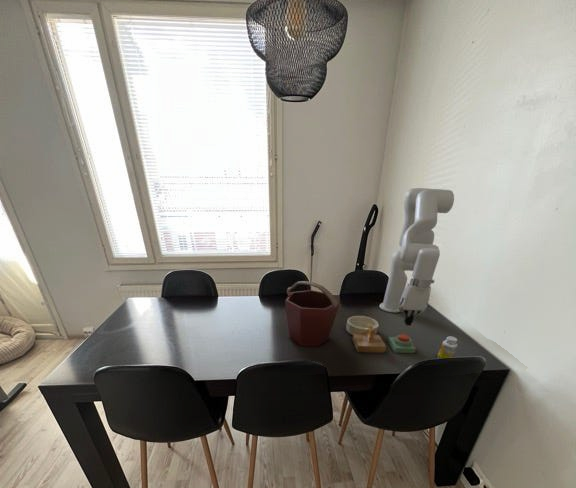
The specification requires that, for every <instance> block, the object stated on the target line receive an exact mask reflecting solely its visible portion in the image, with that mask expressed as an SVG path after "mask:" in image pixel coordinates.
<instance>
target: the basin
mask: <svg viewBox="0 0 576 488" xmlns="http://www.w3.org/2000/svg"><path fill="white" fill-rule="evenodd" d="M366 324H371V326H372V328H373V330H374V331H375V333H374V335H378V329H379V322H378V321H377V320H376V319H374V318H372V317H369V316H364V315H353V316H350V317H348V318H347V321H346V325H345V326H346V327H345V331H346V332H347V333H348V334H350V335H351V336H353V334H365V329H366Z"/></svg>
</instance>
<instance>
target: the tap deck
mask: <svg viewBox="0 0 576 488" xmlns="http://www.w3.org/2000/svg"><path fill="white" fill-rule="evenodd" d="M352 342H353V344H354V347H355V349H356V352H357V353H379V354H380V353H384V354H385V353H386V349H387V346H386V344H385V342H384V340H383V338H382V337H381V334H376V335H374V338H373V342H368V340H367V338H366V336H365V334H353V335H352Z"/></svg>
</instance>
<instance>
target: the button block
mask: <svg viewBox="0 0 576 488" xmlns="http://www.w3.org/2000/svg"><path fill="white" fill-rule="evenodd" d="M399 335H400V334H398V335H395V336H388V339H387V342H388V344H389V345H390V348H391V349H392V350H393V352H394V353H401V354H402V353H407V354H416V351H417V347H416V346H415V345H414V343H413V339H411V338H410V337H409V340H408V342H402V341H400V340H398V337H399Z"/></svg>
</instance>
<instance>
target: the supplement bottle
mask: <svg viewBox="0 0 576 488" xmlns="http://www.w3.org/2000/svg"><path fill="white" fill-rule="evenodd" d="M457 342H458V339H457V338H456V337H455V336H447V337H446V339H445V340H443V341H442V343H441V346H440V348H439V351H438V353H437V356H436V358H437V359H438V358H449V357H453V358H454V356H455V353H456V350H457V349H458V343H457Z"/></svg>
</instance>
